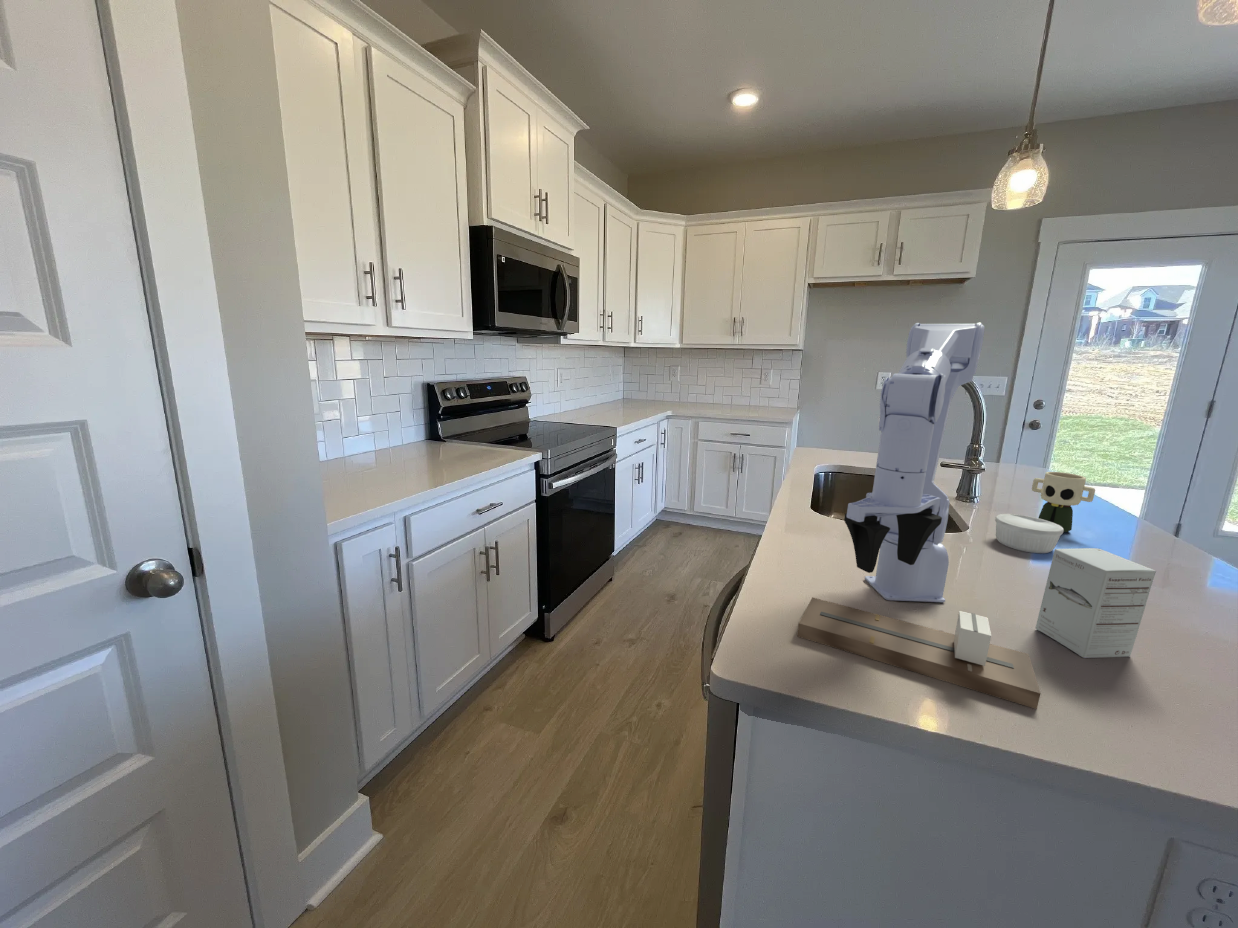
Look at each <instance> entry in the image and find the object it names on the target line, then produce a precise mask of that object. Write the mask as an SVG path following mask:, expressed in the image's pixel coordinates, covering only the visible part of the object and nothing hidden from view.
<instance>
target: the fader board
mask: <svg viewBox="0 0 1238 928" xmlns="http://www.w3.org/2000/svg"><path fill="white" fill-rule="evenodd" d="M954 635H955V633H951V632H950V633H949V632H946V631H942V630H940V629H936V628H931V627H927V626H923V625H920V624H916V623H913V622H908V621H905V620H900V619H897V618H892V617H889V616H886V615H881V614H877V613H873V612H871V611H867V610H863V609H859V608H855V607H850V606H847V605H843V604H839V603H835V602H831V601H828V600H824V599H820V598H816V597H811V599H810V600H809V603H808V605H807V606H806V608H805V611H804V612H803V614H802V616H801V618H800V620H799V621H798V627H797V635H796V636H797V637H798V638H801V639H806V640H807V641H808V640H809V641H811V642H815V643H818V644H822V645H825V646H828V647H831V648H835V649H838V650H841V651H844V652H848V653H851V654H854V655H858V656H861V657H864V658H867V659H870V660H874V661H877V662H881V663H884V664H887V665H891V666H893V667H894V666H895V667H897V668H901V669H903V670H907V671H909V672H914V673H916V674H919V675H924V676H927V677H930V678H933V679H936V680H940V681H943V682H947V683H950V684H953V685H956V686H960V687H963V688H966V689H969V690H972V691H976V692H979V693H982V694H985V695H990V696H992V697H995V698H999V699H1002V700H1006V701H1007V702H1008V701H1009V702H1012V703H1016V704H1018V705H1022V706H1024V707H1029V708H1032V709H1036V710H1037V709H1038V706H1039V702H1040V698H1041V695H1042V693H1041V691H1040V686H1039V683H1038V681H1037V678H1036V673H1035V671H1034V667H1033V665H1032V660H1031V657H1030V654H1029V653H1026V652H1023V651H1018V650H1014V649H1012V648H1007V647H1003V646H1000V645H996V644H993V643H992V644H991V643H990V645H989V649H988V654H987V659H986V663H985V666H983V665H979V664H976V663H972V662H969V661H965V660H962V659H958V658H955V650H954Z"/></svg>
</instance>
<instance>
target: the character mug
mask: <svg viewBox="0 0 1238 928" xmlns="http://www.w3.org/2000/svg"><path fill="white" fill-rule="evenodd" d="M1086 481H1087V477H1085V476H1084V475H1079V474H1076V473H1075V474H1074V473H1068V472H1062V471H1045V475H1044V478H1039V477H1036V478H1035V477H1034V478H1033V480H1032V485H1031V492H1035V493H1039V494H1040V499H1042V500H1043V501H1045V503H1044V504H1043V505H1042V508H1041V509H1040V513H1039V515H1038V517H1037V518H1039V519H1043V520H1046V521H1050V522H1052V523H1055V524H1058V525H1060V526H1061V527H1062V528H1063V529H1064V531H1063V533H1068V532H1070V531H1072V529H1073V516H1074V514H1073V510H1074V509H1073V507H1072V506H1078V505H1079V504H1080V503H1081V502H1082V501H1083V502H1087V503H1093V501H1094V498H1095V493H1096V489H1095V487H1093V486H1086ZM1039 483H1041V484H1042V487H1041V488H1039V487H1038V484H1039ZM1084 491H1085V492H1088V494H1087V496H1083V493H1084Z"/></svg>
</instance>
